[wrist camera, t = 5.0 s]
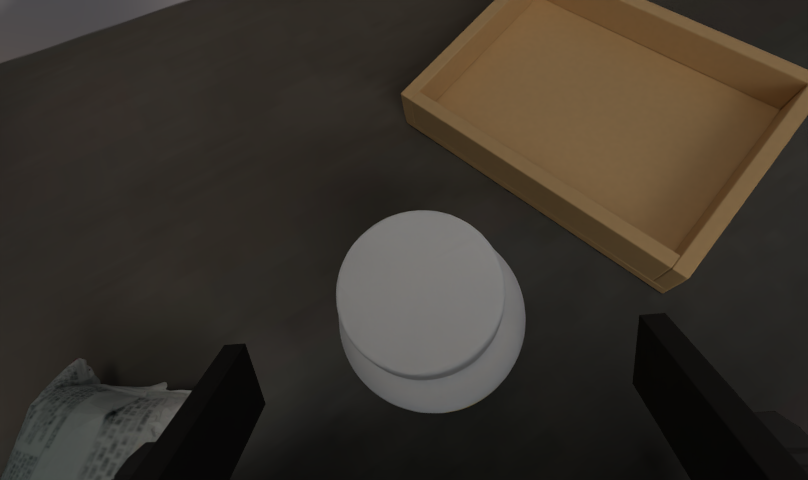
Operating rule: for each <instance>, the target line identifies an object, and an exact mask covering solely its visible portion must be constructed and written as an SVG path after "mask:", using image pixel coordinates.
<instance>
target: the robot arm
mask: <svg viewBox="0 0 808 480" xmlns="http://www.w3.org/2000/svg"><path fill="white" fill-rule="evenodd" d="M633 385H634V386H635V388H636V390H637V391H638V393H639V395H640V396H641V398H642V399H643V401H644V403H645V404H646V406H647V408H648V409H649V411H650V413H651V414H652V416H653V418H654V419H655V421H656V423H657V424H658V426H659V428H660V429H661V431H662V433H663V434H664V436H665V438H666V439H667V441H668V443H669V444H670V446H671V447H672V449H673V451H674V452H675V454H676V456H677V457H678V459H679V461H680V462H681V464H682V466H683V467H684V469H685V471H686V472H687V474H688V476H689V477H690V479H691V480H808V435H807V434H806V433H805V432H804V431H803V430H802V429H801V428H800V427H799V426H797V425H795V424H794V423H792V422H791V421H789V420H788V419H786V418H785V417H783V416H781V415H780V414H778V413H777V412H775V411H768V412H753V411H752V410H751V409H750V408H749V407H748V406H747V405H746V404H745V402H744V401H743V400H742V399H741V398H740V397H739V396H738V395H737V393H736V392H735V391H734V390H733V389H732V388H731V387H730V386H729V384H728V383H727V382H726V381H725V380H724V379H723V378H722V377H721V375H720V374H719V373H718V372H717V371H716V370H715V369H714V368H713V366H712V365H711V364H710V363H709V362H708V361H707V360H706V359H705V357H704V356H703V355H702V354H701V353H700V352H699V351H698V350H697V349H696V347H695V346H694V345H693V344H692V343H691V342H690V341H689V340H688V338H687V337H686V336H685V335H684V334H683V333H682V332H681V331H680V329H679V328H678V327H677V326H676V325H675V324H674V323H673V322H672V320H671V319H670V318H669V317H668V316H667V315H666V314H665V313H661V314H647V315H639V325H638V335H637V345H636V355H635V365H634V375H633ZM264 406H265V401H264V398H263V395H262V392H261V389H260V386H259V383H258V380H257V377H256V374H255V371H254V368H253V365H252V362H251V359H250V356H249V353H248V350H247V347H246V344H233V345H224V347H223V348H222V349H221V351H220V352H219V354H218V355H217V356H216V358H215V359H214V361H213V362H212V363H211V365H210V366H209V368H208V369H207V370H206V372H205V373H204V375H203V376H202V378H201V379H200V380H199V382H198V383H197V385H196V386H195V387H194V389H193V390H192V392H191V393H190V394H189V396H188V397H187V399H186V400H185V401H184V403H183V404H182V406H181V407H180V408H179V410H178V411H177V413H176V414H175V415H174V417H173V418H172V420H171V421H170V422H169V424H168V425H167V427H166V428H165V430H164V431H163V432H162V434H161V435H160V437H159V438H158V439H157V441H156V442H145V443H144V444H143V445H142V446H141V447H140V448H139V449H137V450H136V451H135V452H134V453H133V454H132V455H130V456H129V457H128V458H127V459H126V461H125V462H124V463H123V465H122V466H121V467H120V469H119V470H118V471H117V473H116V474H115V475H114V479H111V480H229V479H230V477H231V475H232V473H233V471H234V469H235V467H236V465H237V463H238V460H239V458H240V456H241V454H242V452H243V450H244V448H245V446H246V444H247V442H248V439H249V437H250V435H251V433H252V431H253V429H254V427H255V425H256V423H257V421H258V418H259V416H260V414H261V412H262V410H263V408H264Z"/></svg>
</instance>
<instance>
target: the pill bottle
mask: <svg viewBox="0 0 808 480" xmlns="http://www.w3.org/2000/svg"><path fill="white" fill-rule="evenodd" d="M336 304H337V311H338V315H339V330H340V336H341V341H342V345H343V348H344V351H345V354H346V356H347V358H348V360H349V362H350V364H351V366H352V368H353V369H354V371H355V372H356V374H357V375H358V376H359V378H360V379H361V380H362V381H363V382H364V383H365V385H366V386H367V387H369V388H370V389H371V390H372V391H373V392H374V393H376V394H377V395H378V396H380V397H381V398H383V399H385V400H386V401H388V402H390V403H392V404H394V405H396V406H399V407H401V408H404V409H408V410H412V411H416V412H422V413H447V412H453V411H457V410H461V409H464V408H467V407H470V406H472V405H474V404H476V403H477V402H479V401H481V400H482V399H484V398H485V397H486V396H488V395H489V394H490V393H491V392H493V391H494V390H495V389H496V388H497V387H498V386H499V385H500V384H501V383H502V382H503V380H504V379H505V378H506V377H507V375H508V374H509V372H510V371H511V369H512V367H513V366H514V364H515V362H516V360H517V358H518V356H519V353H520V350H521V347H522V344H523V339H524V334H525V319H526V315H525V306H524V300H523V296H522V293H521V289H520V287H519V284H518V282H517V279H516V277H515V275H514V274H513V272H512V270H511V269H510V267H509V266H508V264H507V263H506V262H505V260H504V259H503V258H502V257H501V256H500V255H499V254H498V253H497V252H496V251H495V250H494V249H493V248H492V246H491V245H490V243H489V242H488V241H487V240H486V239H485V237H484V236H483V235H482V234H481V233H480V232H479V231H478V230H476V229H475V228H474V227H473V226H471V225H470V224H468V223H467V222H465V221H463V220H461V219H459V218H457V217H454V216H452V215H450V214H446V213H442V212H438V211H429V210H417V211H408V212H403V213H399V214H396V215H393V216H390V217H388V218H386V219H384V220H382V221H380V222H378V223H377V224H375V225H373V226H372V227H371V228H369V229H368V230H367V231H366V232H365V233H363V234H362V235H361V236H360V237H359V238H358V239H357V241H356V242H355V243H354V244H353V245H352V247H351V248H350V250H349V251H348V253H347V255H346V257H345V259H344V261H343V263H342V266H341V268H340V271H339V276H338V279H337V285H336Z"/></svg>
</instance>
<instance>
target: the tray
mask: <svg viewBox="0 0 808 480" xmlns="http://www.w3.org/2000/svg"><path fill="white" fill-rule="evenodd" d="M401 98H402V103H403V107H404V112H405V117H406V121H407V123H408V124H410V125H411V126H413V127H414V128H416V129H417V130H419V131H420V132H422V133H423V134H425V135H426V136H428V137H429V138H431V139H432V140H434V141H435V142H437V143H438V144H440V145H441V146H443V147H444V148H446V149H447V150H448V151H450V152H451V153H453V154H454V155H456V156H457V157H459V158H460V159H462V160H463V161H465V162H466V163H468V164H469V165H471V166H472V167H474V168H475V169H477V170H478V171H480V172H481V173H483V174H484V175H486V176H487V177H489V178H490V179H492V180H493V181H495V182H496V183H498V184H499V185H501V186H502V187H504V188H505V189H507V190H508V191H510V192H511V193H513V194H514V195H516V196H517V197H519V198H520V199H522V200H523V201H525V202H526V203H528V204H529V205H531V206H532V207H534V208H535V209H537V210H538V211H540V212H541V213H543V214H544V215H546V216H547V217H549V218H550V219H551V220H553V221H554V222H556V223H557V224H559V225H560V226H562V227H563V228H565V229H566V230H568V231H569V232H571V233H572V234H574V235H575V236H577V237H578V238H580V239H581V240H583V241H584V242H586V243H587V244H589V245H590V246H592V247H593V248H595V249H596V250H598V251H599V252H601V253H602V254H604V255H605V256H607V257H608V258H610V259H611V260H613V261H614V262H616V263H617V264H619V265H620V266H622V267H623V268H625V269H626V270H628V271H629V272H631V273H632V274H634V275H635V276H637V277H638V278H640V279H641V280H643V281H644V282H646V283H647V284H649V285H650V286H652V287H653V288H654V289H656V290H657V291H659V292H660V293H664V292H666V291H668V290H670V289H671V288H673V287H675V286H677V285H678V284H680V283H682V282H684V281H685V280H687V279H689V278H690V276H691V275H692V273H693V272H694V271H695V269H696V268H697V267H698V265H699V264H700V262H701V261H702V260H703V258H704V257H705V256H706V254H707V253H708V251H709V250H710V249H711V247H712V246H713V245H714V243H715V242H716V240H717V239H718V238H719V236H720V235H721V233H722V232H723V231H724V229H725V228H726V227H727V225H728V224H729V222H730V221H731V220H732V218H733V217H734V216H735V214H736V213H737V211H738V210H739V209H740V207H741V206H742V205H743V203H744V202H745V200H746V199H747V198H748V196H749V195H750V194H751V192H752V191H753V189H754V188H755V187H756V185H757V184H758V183H759V181H760V180H761V178H762V177H763V176H764V174H765V173H766V172H767V170H768V169H769V167H770V166H771V165H772V163H773V162H774V161H775V159H776V158H777V156H778V155H779V154H780V152H781V151H782V150H783V148H784V147H785V145H786V144H787V143H788V141H789V140H790V138H791V137H792V136H793V134H794V133H795V132H796V130H797V129H798V127H799V126H800V125H801V123H802V122H803V121H804V119H805V118H806V116H807V115H808V70H807V69H805V68H802V67H800V66H798V65H795V64H793V63H791V62H788V61H786V60H784V59H781V58H779V57H777V56H774V55H772V54H770V53H767V52H765V51H763V50H761V49H758V48H756V47H754V46H751V45H749V44H747V43H744V42H742V41H740V40H737V39H735V38H733V37H730V36H728V35H726V34H723V33H721V32H719V31H716V30H714V29H712V28H709V27H707V26H705V25H702V24H700V23H698V22H695V21H693V20H691V19H688V18H686V17H684V16H682V15H679V14H677V13H675V12H672V11H670V10H668V9H665V8H663V7H661V6H658V5H656V4H654V3H651V2H649V1H647V0H494V1H493V2H492V3H491V4H490V5H489V6H488V7H487V8H486V9H485V10H484V11H483V12H482V13H481V14H480V15H479V16H478V17H477V18H476V19H475V20H474V21H473V22H472V23H471V24H470V25H469V26H468V27H467V28H466V29H465V30H464V31H463V32H462V33H461V34H460V35H459V36H458V37H457V38H456V39H455V40H454V41H453V42H452V43H451V44H450V45H449V46H448V47H447V48H446V49H445V50H444V51H443V52H442V53H441V54H440V55H439V56H438V57H437V58H436V59H435V60H434V61H433V62H432V63H431V64H430V65H429V66H428V67H427V68H426V69H425V70H424V71H423V72H422V73H421V74H420V75H419V76H418V77H417V78H416V79H415V80H414V81H413V82H412V83H411V84H410V85H409V86H408V87H407V88H406V89H405V90H404V91H403V92H402V93H401Z"/></svg>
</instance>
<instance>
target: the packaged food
mask: <svg viewBox="0 0 808 480" xmlns="http://www.w3.org/2000/svg"><path fill="white" fill-rule="evenodd" d="M88 369H90V371H89V370H88ZM166 388H167V383H166V382H163V383H160V384H157V385H153V386H144V387H124V386H109V385H106V384H100V379H99V378H98V377H97V376H96V375H95V374H94V372H93V370H92V368H91V367H89V366H88V365H86V360H84V359H81V358H77V359H75V360H74V361H73V362H72V363H71V364H70V365H69V366H67V367H66V368H65V369H64V370H63V371H62V372H61V373H60V374H59V375H58V376H57V377H56V378H55V379H54V380H53V381H52V382H51V383H50V384H49V385H48V386H47V387H46V388H45V389H44V390H43V391H42V392H41V393H40V395H39V396H38V397H37V398H36V400H35V401H34V402H33V403H32V404H31V405H30V407H29V409H28V412H27V414H26V417H25V419H24V422H23V425H22V427H21V430H20V432H19V435H18V437H17V440H16V443H15V446H14V448H13V450H12V453H11V455H10V458H9V460H8V462H7V465H6V467H5V470H4V472H3V474H2V477H1V479H0V480H111V479H114V475H115V474H116V473H117V471H118V470H119V469H120V467H121V466H122V465H123V463H124V462H125V461H126V459H127V458H128V457H129V456H130V455H132V454H133V453H134V452H135V451H136V450H137V449H139V448H140V447H141V446H142V445H143V444H144V443H145V442H156V441H157V439H158V438H159V437H160V435H161V434H162V432H163V431H164V430H165V428H166V427H167V425H168V424H169V422H170V421H171V420H172V418H173V417H174V415H175V414H176V413H177V411H178V410H179V408H180V407H181V406H182V404H183V403H184V401H185V400H186V399H187V397H188V396H189V394H190V393H191V392H192V390H190V391H189V390H175V391H169V390H166Z"/></svg>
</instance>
